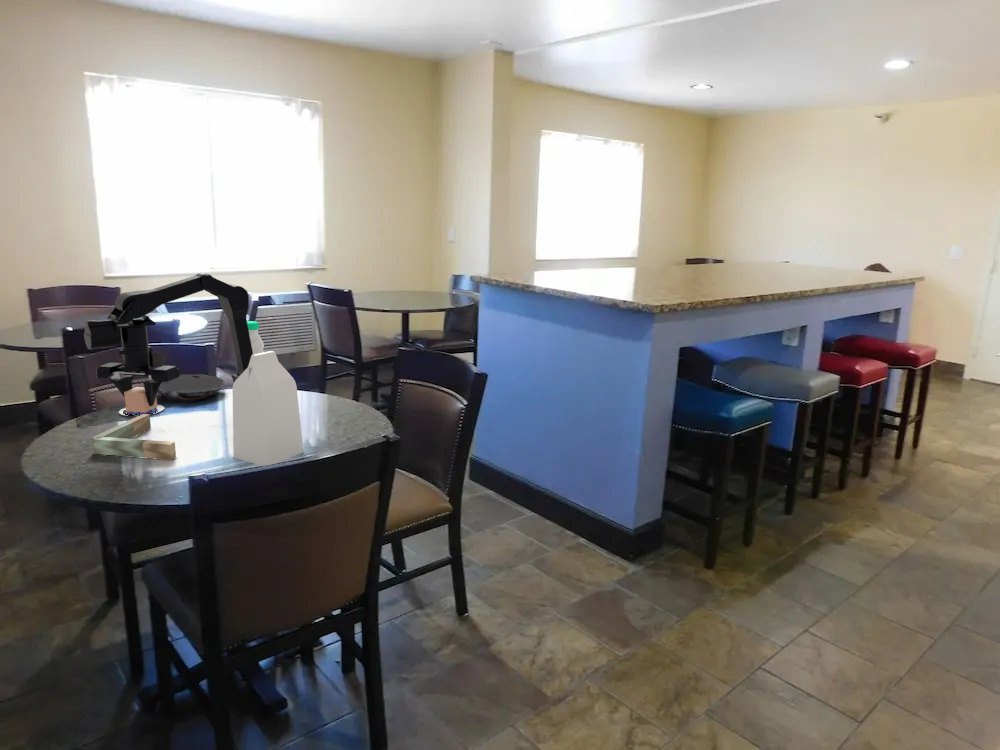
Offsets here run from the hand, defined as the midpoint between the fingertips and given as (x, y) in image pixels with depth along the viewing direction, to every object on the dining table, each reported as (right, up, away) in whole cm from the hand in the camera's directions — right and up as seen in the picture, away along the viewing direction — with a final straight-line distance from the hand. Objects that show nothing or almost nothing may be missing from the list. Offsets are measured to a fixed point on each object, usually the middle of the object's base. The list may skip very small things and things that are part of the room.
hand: (141, 405), depth 170 cm
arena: (+1, -10, +5) cm, 11 cm away
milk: (+32, -13, -1) cm, 35 cm away
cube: (0, -1, 0) cm, 1 cm away
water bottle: (+12, 0, +46) cm, 48 cm away
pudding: (-16, -4, +31) cm, 35 cm away
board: (-10, +1, +49) cm, 50 cm away
